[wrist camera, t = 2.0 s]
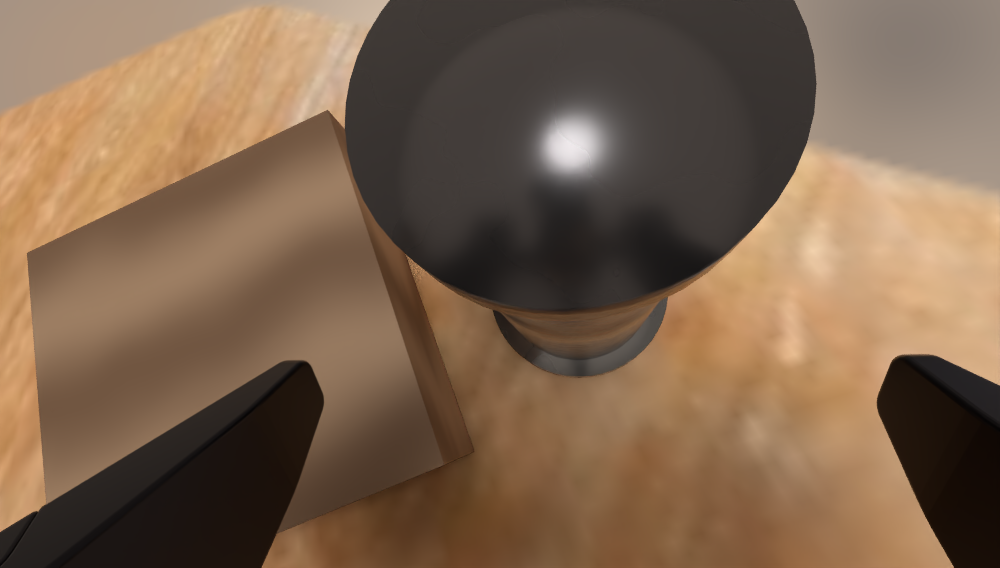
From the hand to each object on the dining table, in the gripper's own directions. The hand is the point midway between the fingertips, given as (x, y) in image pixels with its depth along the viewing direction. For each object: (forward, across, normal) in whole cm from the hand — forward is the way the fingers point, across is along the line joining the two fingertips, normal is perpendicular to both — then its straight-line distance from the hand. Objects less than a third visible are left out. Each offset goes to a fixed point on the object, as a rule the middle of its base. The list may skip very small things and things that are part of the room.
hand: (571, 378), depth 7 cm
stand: (+9, +13, +7) cm, 17 cm away
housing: (+10, 0, +5) cm, 12 cm away
